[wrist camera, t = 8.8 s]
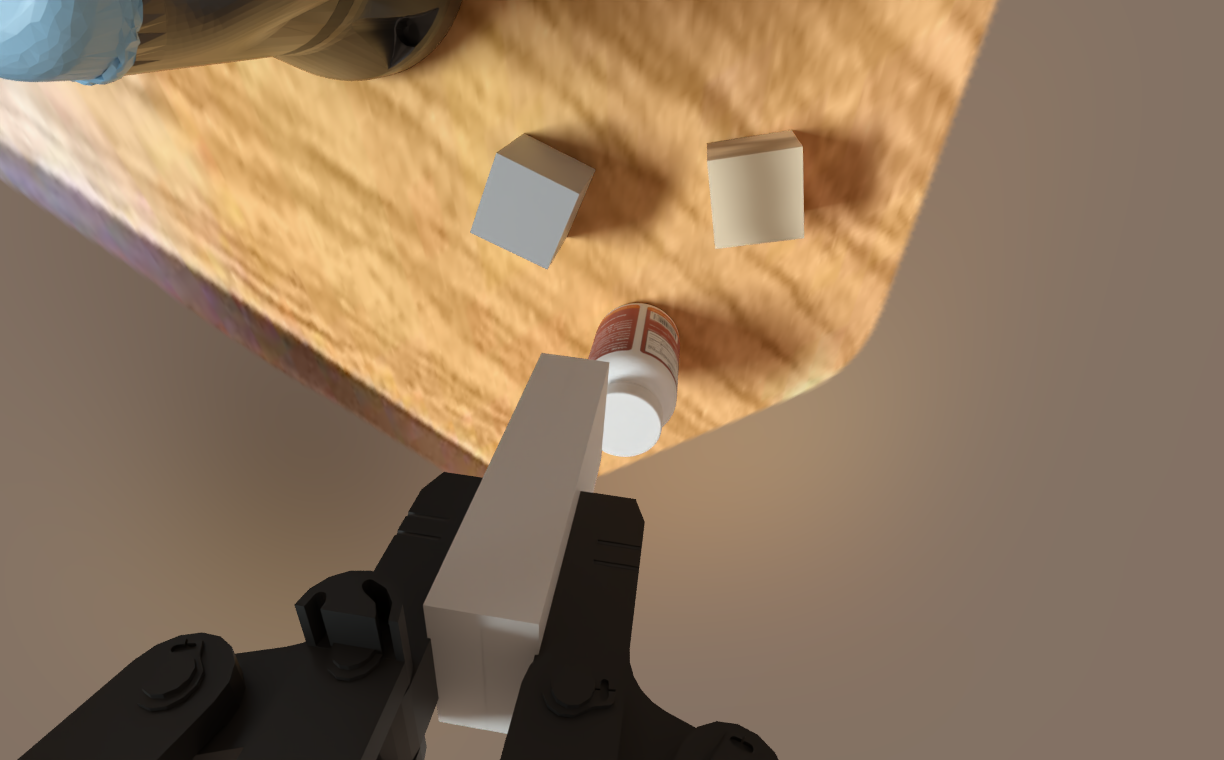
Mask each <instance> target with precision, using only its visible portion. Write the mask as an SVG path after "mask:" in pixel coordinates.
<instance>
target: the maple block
mask: <svg viewBox="0 0 1224 760" xmlns="http://www.w3.org/2000/svg"><path fill="white" fill-rule="evenodd" d="M707 164H708V175H709V186H710V197H711V208H712V219H713V230H714V241H715V249H719V248H727V247H735V246H744V245H752V244H760V243H768V242H776V241H784V240H792V239H801V238H804V193H803V146H802V145H801V143H800V142H799V140H798V139H797V137H796V136H795V134H794V133H793V131H792V130H788V131H782V132H775V133H769V134H763V135H756V136H750V137H744V138H737V139H731V140H725V141H718V142H712V143H707Z"/></svg>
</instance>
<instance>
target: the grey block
mask: <svg viewBox="0 0 1224 760" xmlns="http://www.w3.org/2000/svg"><path fill="white" fill-rule="evenodd" d="M595 170H596V169H594V168H592V167H590V166H588V165H586V164H584V163H582V162H580V161H578V160H576V159H574V158H572V157H570V156H568V155H566V154H564V153H562V152H560V151H558V150H556V149H554V148H552V147H550V146H548V145H546V144H544V143H542V142H540V141H538V140H536V139H534V138H532V137H530V136H528V135H526V134H522V135H521V136H520V137H518V138H517V139H515V140H514V141H512V142H511V143H510V144H508V145H507V146H505V147H504V148H503V149H501V150H500V151H498V152H497V153H496V156H495V159H494V162H493V165H492V168H491V171H490V174H489V177H488V180H487V183H486V186H485V189H484V192H483V195H482V198H481V201H480V204H479V207H478V210H477V213H476V216H475V219H474V222H473V225H472V228H471V231H470V233H472V234H474V235H476V236H478V237H481V238H483V239H485V240H487V241H489V242H491V243H493V244H495V245H497V246H499V247H501V248H504V249H506V250H508V251H510V252H512V253H514V254H516V255H518V256H520V257H522V258H524V259H527V260H529V261H531V262H533V263H535V264H537V265H539V266H541V267H543V268H545V269H548V268H549V266H550V264H551V263H552V261H553V259H554V258H555V256H556V254H557V253H558V251H559V249H560V248H561V246H562V244H563V243H564V241H565V239H566V238H567V236H568V233H569V231H570V229H571V226H572V224H573V222H574V219H575V217H576V215H577V212H578V210H579V208H580V205H581V203H582V201H583V198H584V196H585V194H586V191H587V189H588V187H589V184H590V182H591V180H592V177H593V175H594V173H595Z"/></svg>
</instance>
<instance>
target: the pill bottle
mask: <svg viewBox="0 0 1224 760" xmlns="http://www.w3.org/2000/svg"><path fill="white" fill-rule="evenodd" d="M679 352H680V338H679V333H678V330H677V327H676V325H675V324H674V322H673V320H672V319H671V318H670V317H669V316H668V315H667V314H666V313H665V312H664V311H662V310H661V309H659V308H657V307H655V306H652V305H648V304H643V303H631V304H626V305H623V306H620V307H617V308H615V309H614V310H612V311H611V312H609V313H608V314H607V315H606V316H605V317H604V319H603V320H602V321H601V323H600V325H599V327H598V330H597V332H596V335H595V339H594V342H593V345H592V348H591V352H590V355H589V358H588V359H590V360H597V361H605V362H610V363H609V375H608V386H607V397H606V408H605V420H604V431H603V442H602V451H604V452H606V453H608V454H611V455H615V456H621V457H629V456H635V455H639V454H642V453H644V452H646V451H648V450H649V449H651V448H652V447H653V446H654V445H655V444H656V442H657V441H658V439H659V437H660V434H661V430H662V427H663V426H664V425H665V424H666V423H667V422H668V421H669V419H670V418H671V416H672V414H673V412H674V409H675V406H676V400H677V384H678V369H679Z"/></svg>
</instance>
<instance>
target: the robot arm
mask: <svg viewBox="0 0 1224 760" xmlns="http://www.w3.org/2000/svg"><path fill="white" fill-rule="evenodd" d="M461 1H462V0H0V78H3V79H7V80H14V81H25V82H51V81H72V82H75V81H76V82H78V83H81V84H83V85H91V86H92V85H95V84H108V83H111V82H114V81H117V80H119V79H121V78H122V77H123V76H126V75H134V74H142V73H150V72H157V71H165V70H173V69H181V68H189V67H197V66H204V65H212V64H220V63H228V62H236V61H244V60H252V59H259V58H267V57H274V58H276V59H279V60H281V61H283V62H285V63H288V64H290V65H292V66H294V67H297V68H299V69H301V70H304V71H306V72H309V73H311V74H314V75H318V76H321V77H325V78H330V79H336V80H345V81H362V80H370V79H375V78H379V77H384V76H388V75H392V74H396V73H399V72H401V71H404V70H406V69H408V68H410V67H412V66H414V65H415V64H417V63H418V62H420V61H421V60H423V59H424V58H425V57H426V56H427V55H429V54H430V53H431V52H432V51H433V50H434V49H435V48H436V46H437V45H438V44H439V43H440V42H441V40H442V39H443V38H444V36H445V35H446V33H447V32H448V30H449V28H450V27H451V25H452V23H453V21H454V19H455V17H456V15H457V12H458V10H459V7H460V5H461ZM609 363H610V362H605V361H597V360H590V359H582V358H575V357H568V356H560V355H553V354H545V353H541V356H540V358H539V360H538V362H537V364H536V366H535V368H534V370H533V373H532V375H531V377H530V379H529V381H528V383H527V385H526V387H525V389H524V392H523V394H522V396H521V398H520V400H519V402H518V404H517V406H516V409H515V411H514V413H513V415H512V417H511V419H510V421H509V423H508V426H507V428H506V430H505V432H504V434H503V436H502V438H501V440H500V443H499V445H498V447H497V449H496V451H495V453H494V455H493V457H492V460H491V462H490V464H489V466H488V468H487V470H486V472H485V474H484V477H483V478H480V477H474V476H467V475H460V474H454V473H447V472H443V473H442V474H441V475H439V476H438V477H437V478H436V479H434V480H433V481H432V482H430V483H429V484H428V485H427V486H425V487H424V488H423V489H422V490H421V491H420V493H419V495H418V497H417V498H416V500H415V502H414V503H413V505H412V507H411V508H410V510H409V512H408V516H406V517H405V519H404V520H403V522H402V524H401V526H400V527H399V529H398V533H397V535H395V536H394V537H393V539H392V541H391V543H390V544H389V546H388V548H387V549H386V551H385V553H384V554H383V556H382V558H381V560H380V561H379V563H378V565H377V566H376V568H375V570H374V571H348V572H345V573H341V574H338V575H335V576H331V577H328V578H327V579H325V580H323V581H322V582H320V583H318V584H317V585H315V586H313V587H312V588H310V589H309V590H308V591H307V592H306V593H305V594H304V595H303V596H302V597H301V598H300V599H299V600H298V602H297V603H296V604H295V608H296V611H297V614H298V617H299V620H300V624H301V627H302V630H303V633H304V636H305V640H306V642H304V643H300V644H296V645H292V646H287V647H282V648H275V649H267V650H260V651H253V652H245V653H238V654H235V653H234V651H233V649H232V647H231V646H230V645H229V644H228V643H227V642H226V641H225V640H224V639H223V638H221V637H220V636H216V635H211V634H207V633H195V634H187V635H180V636H178V637H175V638H173V639H170V640H168V641H165V642H163V643H160V644H158V645H156V646H154V647H153V648H151V649H150V650H148V651H147V652H145V653H144V654H142V655H141V656H140V657H138V658H136V659H135V660H134V661H132V662H131V663H130V664H129V665H128V666H127V667H125V668H124V669H123V670H122V671H121V672H120V673H118V674H117V675H116V676H115V677H114V678H113V679H111V680H110V681H109V682H108V683H107V684H105V685H104V686H103V687H102V688H101V689H100V690H98V691H97V692H96V693H95V694H94V695H93V696H91V697H90V698H89V699H88V700H87V701H86V702H84V703H83V704H82V705H81V706H80V707H79V708H77V709H76V710H75V711H74V712H73V713H71V714H70V715H69V716H68V717H67V718H66V719H64V720H63V721H62V722H61V723H60V724H59V725H58V726H56V727H55V728H54V729H53V730H52V731H50V732H49V733H48V734H47V735H46V736H45V737H43V738H42V739H41V740H40V741H39V742H38V743H36V744H35V745H34V746H33V747H32V748H31V749H29V750H28V751H27V752H26V753H25V754H24V755H22V756H21V757H20V758H19V759H18V760H424V758H425V752H426V741H425V732H426V730H427V727H428V725H429V722H430V720H431V717H432V714H433V712H434V709H435V706H436V704H437V710H438V717H439V721H440V722H445V723H451V724H456V725H462V726H467V727H473V728H478V729H484V730H490V731H496V732H501V733H506V734H507V737H506V740H505V744H504V748H503V751H502V755H501V759H500V760H778V758H777V756H776V754H775V752H774V751H773V750H772V749H771V748H770V747H769V746H768V745H767V744H766V743H765V742H764V741H763V740H762V739H761V738H760V737H759V736H758V735H757V734H755V733H753V732H751V731H749V730H748V729H745V728H744V727H742V726H740V725H738V724H732V723H724V722H718V721H716V722H713V723H709V724H706V725H703V726H699V727H697V728H695V727H693V726H691V725H689V724H688V723H686V722H684V721H682V720H680V719H679V718H677V717H675V716H673V715H671V714H669V713H668V712H666V711H664V710H663V709H661V708H660V707H659V706H657V705H656V704H654V703H653V702H652V701H651V700H650V699H649V698H648V697H647V696H646V695H645V694H644V693H643V691H642V690H641V689H640V687H639V685H638V683H637V681H636V680H635V678H634V676H633V672H632V668H631V665H630V649H629V648H630V641H631V631H632V623H633V615H634V607H635V599H636V590H637V582H638V573H639V565H640V556H641V548H642V540H643V531H644V519H643V517H642V514H641V512H640V509H639V507H638V504H637V502H636V499H631V498H624V497H618V496H611V495H604V494H598V493H593V492H594V487H595V483H596V479H597V474H598V470H599V466H600V461H601V453H602V442H603V431H604V420H605V408H606V397H607V386H608V375H609Z"/></svg>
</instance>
